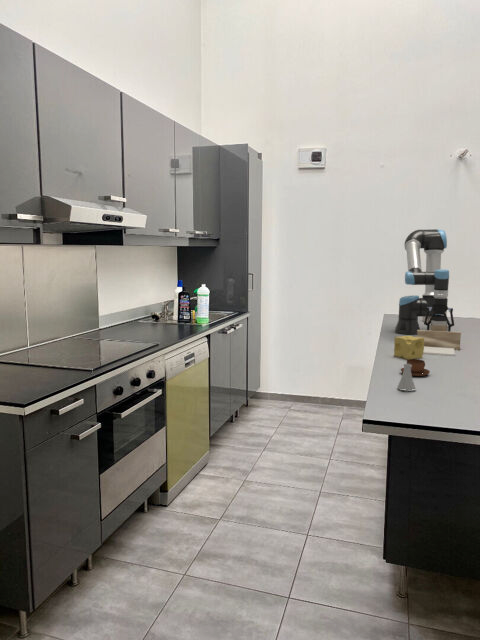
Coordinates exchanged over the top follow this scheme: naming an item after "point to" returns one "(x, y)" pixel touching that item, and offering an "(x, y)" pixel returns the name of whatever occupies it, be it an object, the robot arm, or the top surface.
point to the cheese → (409, 347)
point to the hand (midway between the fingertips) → (438, 337)
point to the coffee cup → (438, 323)
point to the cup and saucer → (417, 367)
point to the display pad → (439, 351)
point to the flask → (406, 378)
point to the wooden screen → (440, 339)
